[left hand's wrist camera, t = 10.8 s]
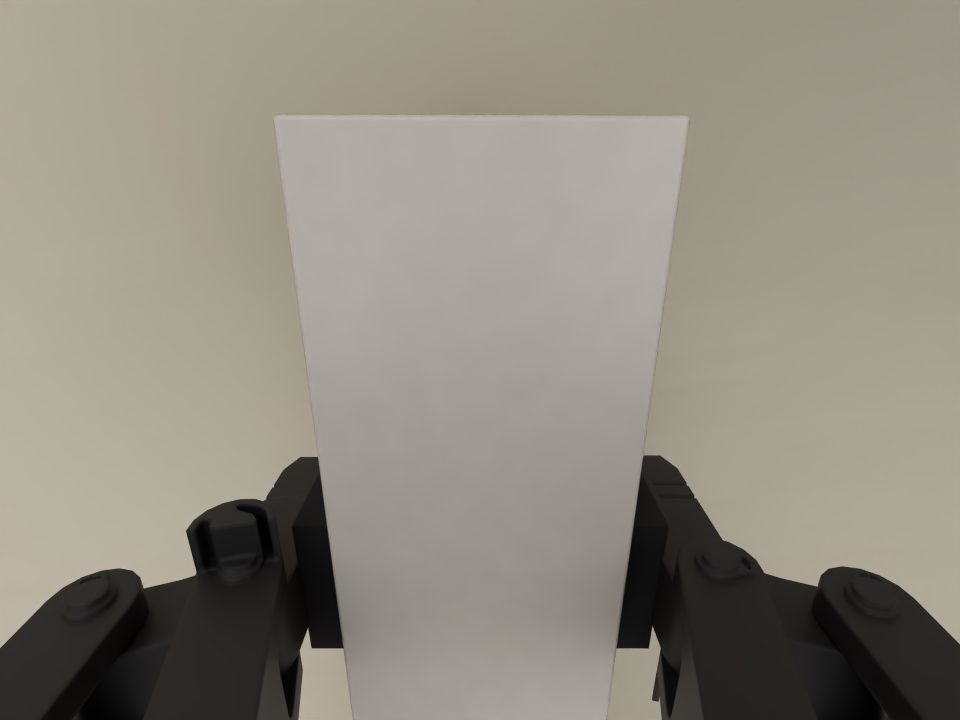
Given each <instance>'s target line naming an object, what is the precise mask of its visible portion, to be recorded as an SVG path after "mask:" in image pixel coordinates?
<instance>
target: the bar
mask: <svg viewBox="0 0 960 720" xmlns="http://www.w3.org/2000/svg"><path fill="white" fill-rule="evenodd" d="M274 128H275V136H276V143H277V151H278V158H279V166H280V173H281V181H282V188H283V196H284V203H285V211H286V219H287V226H288V234H289V241H290V249H291V256H292V264H293V271H294V279H295V286H296V294H297V301H298V309H299V316H300V324H301V332H302V339H303V347H304V354H305V362H306V369H307V377H308V384H309V392H310V399H311V407H312V414H313V422H314V429H315V437H316V445H317V452H318V460H319V467H320V475H321V482H322V490H323V497H324V505H325V512H326V520H327V527H328V535H329V542H330V550H331V558H332V565H333V573H334V580H335V588H336V595H337V603H338V610H339V618H340V625H341V633H342V640H343V648H344V655H345V663H346V671H347V678H348V686H349V693H350V701H351V708H352V716H353V720H607V713H608V705H609V698H610V691H611V684H612V677H613V669H614V662H615V655H616V648H617V641H618V633H619V626H620V619H621V612H622V604H623V597H624V590H625V583H626V576H627V568H628V561H629V554H630V547H631V540H632V532H633V525H634V518H635V511H636V504H637V496H638V489H639V482H640V475H641V468H642V460H643V453H644V446H645V439H646V431H647V424H648V417H649V410H650V403H651V395H652V388H653V381H654V374H655V367H656V359H657V352H658V345H659V338H660V331H661V323H662V316H663V309H664V302H665V295H666V287H667V280H668V273H669V266H670V258H671V251H672V244H673V237H674V230H675V222H676V215H677V208H678V201H679V194H680V186H681V179H682V172H683V165H684V158H685V150H686V143H687V136H688V129H689V118H688V117H687V116H685V115H356V114H279V115H277V116H275V117H274Z"/></svg>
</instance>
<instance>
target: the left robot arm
mask: <svg viewBox="0 0 960 720" xmlns="http://www.w3.org/2000/svg"><path fill="white" fill-rule="evenodd" d="M186 533H187V537H188V540H189V544H190V548H191V552H192V556H193V560H194V564H195V567H196V571H197V573H196V575H195V576H192V577H189V578H186V579H183V580H179V581H175V582H170V583H166V584H162V585H157V586H153V587H149V588H145V589H144V588H143V585H142V582H141V579H140V577H139V576H138V575H137V574H136V573H134V572H133V571H131V570H125V569H111V570H103V571H99V572H96V573H93V574H90V575H88V576H85V577H82V578H80V579H78V580H76V581H75V582H73V583H71V584H69V585H67V586H65V587H63V588H62V589H61V590H60V591H58V592H57V593H56V594H55V595H54V596H52V597H51V598H50V599H49V600H47V601H46V602H45V603H44V604H43V605H42V606H41V607H40V608H39V609H38V610H37V611H36V612H35V614H34V615H33V616H32V617H31V618H30V619H29V620H28V621H27V622H26V623H25V624H24V625H23V626H22V627H21V628H20V629H19V630H18V631H17V632H16V633H15V634H14V635H13V636H12V637H11V638H10V639H9V640H8V641H7V642H6V643H5V644H4V645H3V646H2V647H1V648H0V720H298V717H299V706H300V695H301V683H302V672H303V669H302V662H301V656H300V648H301V645H302V643H303V640H304V637H305V634H306V632H307V629H309V635H310V641H311V647H312V648H343V640H342V633H341V625H340V618H339V610H338V603H337V595H336V588H335V580H334V573H333V565H332V558H331V550H330V542H329V535H328V527H327V520H326V512H325V505H324V497H323V490H322V482H321V475H320V467H319V460H318V457H300V458H299V459H297V460H296V461H295V462H293V463H292V464H291V465H289V466H288V467H287V468H285V469H284V470H283V472H282V473H281V475H280V476H279V478H278V479H277V481H276V483H275V484H274V488H272V489H271V491H270V492H269V494H268V495H267V499H266V500H264V501H260V500H257V499H239V500H235V501H231V502H226V503H223V504H220V505H218V506H216V507H214V508H211V509H209V510H207V511H206V512H204V513H203V514H202V515H200V516H199V517H197V518H196V519H195V520H194V521H193V522H192V523H191V525H190V526H189V528H188V529H187V530H186ZM652 625H653V628H654V631H655V633H656V636H657V639H658V642H659V644H660V647H661V650H660V656H659V662H658V667H657V673H656V678H655V684H654V690H653V697H652V700H653V701H658V702H659V697H660V704H661V716H662V720H960V644H959V643H958V642H957V641H956V640H955V639H954V638H953V637H952V636H951V635H950V634H949V633H948V632H947V631H946V630H945V629H944V628H943V627H942V626H941V625H940V624H939V623H938V622H937V621H936V620H935V619H934V618H933V617H932V616H931V615H930V614H929V613H928V612H927V611H926V610H925V609H924V608H923V607H922V606H921V605H920V604H919V603H918V602H917V601H916V600H915V599H914V598H913V597H912V596H910V595H909V594H908V593H907V592H906V591H904V590H903V589H902V588H901V587H899V586H898V585H896V584H894V583H892V582H891V581H889V580H887V579H885V578H883V577H881V576H879V575H877V574H874V573H871V572H868V571H865V570H862V569H858V568H850V567H836V568H830V569H828V570H827V571H826V572H824V573H823V574H822V575H821V577H820V580H819V583H818V586H817V587H816V586H812V585H808V584H803V583H799V582H795V581H790V580H786V579H782V578H778V577H775V576H772V575H768V574H765V573H764V572H763V570H762V569H761V567H760V565H759V564H758V562H757V561H756V560H755V559H754V558H753V557H752V556H751V555H750V554H748V553H747V552H746V551H745V550H743V549H741V548H739V547H737V546H735V545H733V544H731V543H730V542H727V541H723V540H722V538H721V537H720V535H719V534H718V532H717V530H716V529H715V527H714V526H713V524H712V523H711V521H710V519H709V518H708V516H707V515H706V513H705V512H704V510H703V508H702V507H701V505H700V504H699V502H698V500H697V499H696V498H694V494H693V493H692V491H691V489H690V488H689V486H687V485H686V482H685V480H684V478H683V477H682V475H681V474H680V472H679V470H678V469H677V468H676V467H675V466H673V465H672V464H671V463H669V462H668V461H667V460H665V459H664V458H663V457H661V456H643V460H642V468H641V475H640V482H639V489H638V496H637V504H636V511H635V518H634V525H633V532H632V540H631V547H630V554H629V561H628V568H627V576H626V583H625V590H624V597H623V604H622V612H621V619H620V626H619V633H618V641H617V648H649V643H650V637H651V631H652Z"/></svg>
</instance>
